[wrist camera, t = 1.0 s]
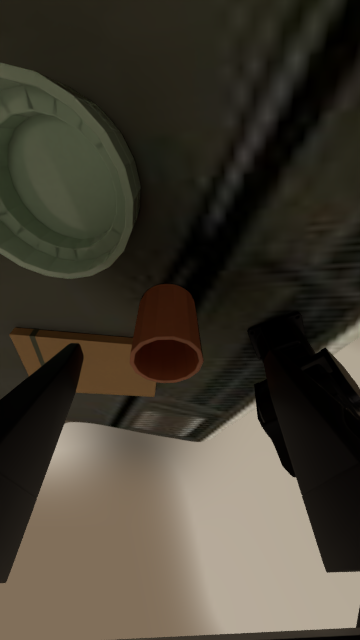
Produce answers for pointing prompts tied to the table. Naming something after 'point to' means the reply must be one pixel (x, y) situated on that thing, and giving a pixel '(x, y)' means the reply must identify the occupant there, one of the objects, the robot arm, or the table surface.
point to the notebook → (86, 360)
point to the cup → (166, 336)
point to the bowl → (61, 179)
